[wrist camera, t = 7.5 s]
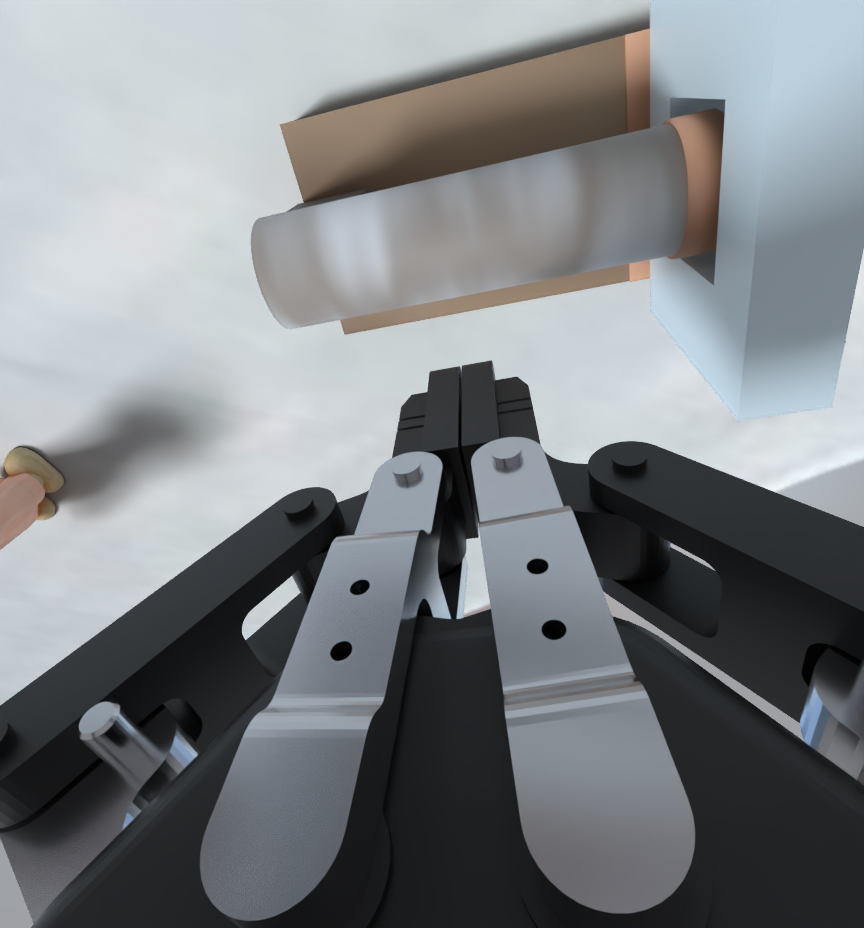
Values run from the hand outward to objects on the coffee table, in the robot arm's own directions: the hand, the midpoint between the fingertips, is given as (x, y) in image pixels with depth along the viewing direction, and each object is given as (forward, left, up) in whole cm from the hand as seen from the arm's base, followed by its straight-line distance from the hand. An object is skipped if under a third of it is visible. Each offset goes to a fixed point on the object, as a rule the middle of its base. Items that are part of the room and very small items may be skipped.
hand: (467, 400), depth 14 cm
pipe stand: (-3, +3, -10) cm, 10 cm away
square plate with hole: (-3, +7, -8) cm, 11 cm away
